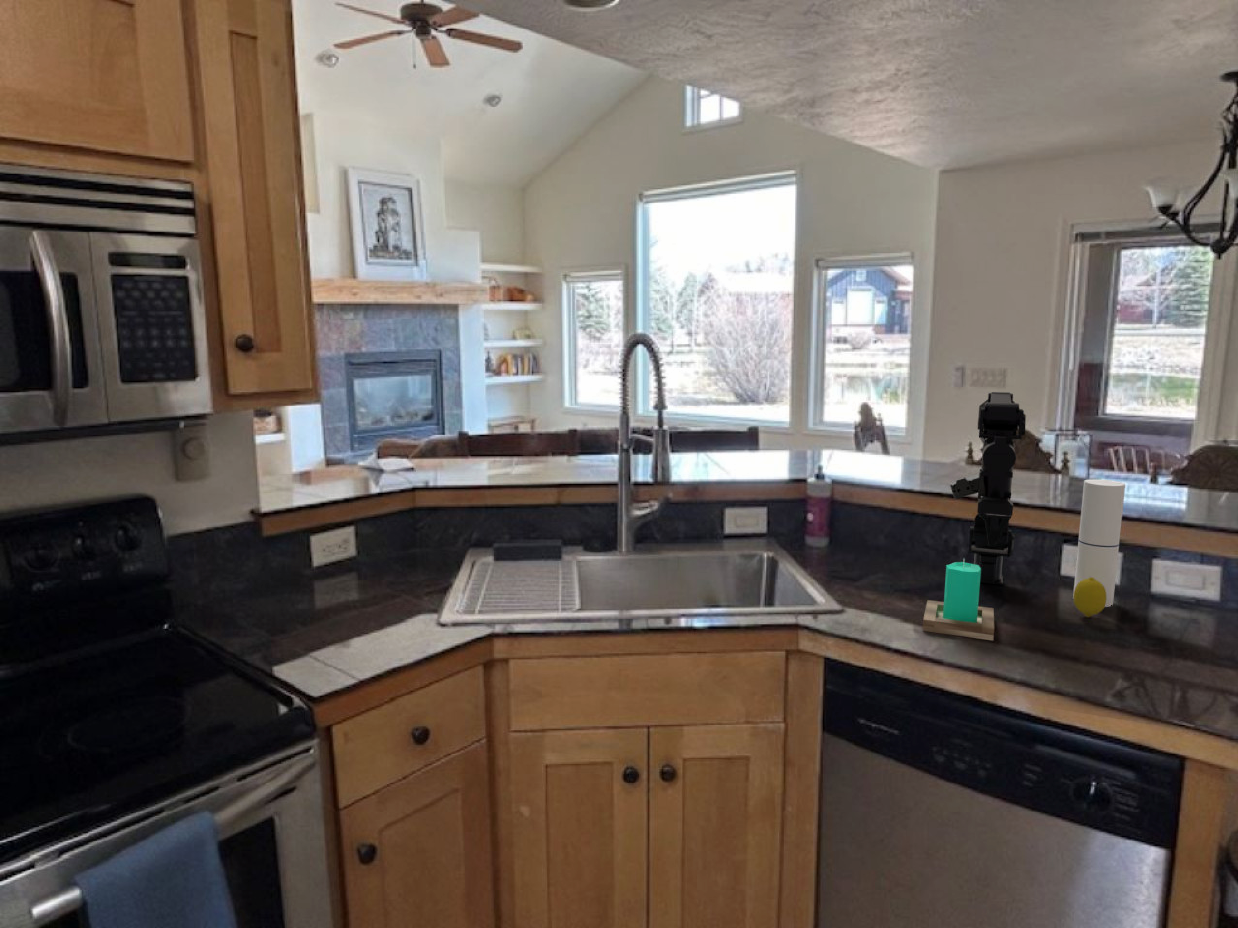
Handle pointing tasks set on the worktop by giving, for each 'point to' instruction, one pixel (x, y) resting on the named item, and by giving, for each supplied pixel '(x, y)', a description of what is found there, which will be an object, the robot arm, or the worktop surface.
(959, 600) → the candle
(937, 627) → the candle stand
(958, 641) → the worktop surface
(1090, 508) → the cylindrical container
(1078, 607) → the lemon
